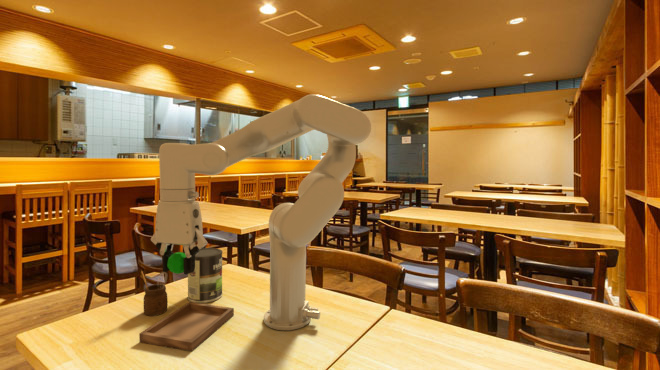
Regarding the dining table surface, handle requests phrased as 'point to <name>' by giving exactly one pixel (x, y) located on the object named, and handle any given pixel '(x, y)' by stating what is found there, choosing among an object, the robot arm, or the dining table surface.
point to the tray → (187, 326)
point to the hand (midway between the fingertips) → (178, 270)
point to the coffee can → (206, 276)
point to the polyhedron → (176, 262)
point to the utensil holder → (155, 298)
